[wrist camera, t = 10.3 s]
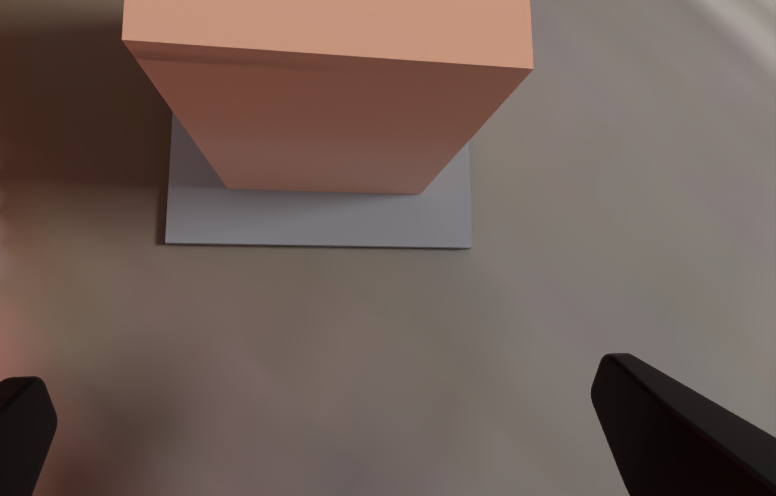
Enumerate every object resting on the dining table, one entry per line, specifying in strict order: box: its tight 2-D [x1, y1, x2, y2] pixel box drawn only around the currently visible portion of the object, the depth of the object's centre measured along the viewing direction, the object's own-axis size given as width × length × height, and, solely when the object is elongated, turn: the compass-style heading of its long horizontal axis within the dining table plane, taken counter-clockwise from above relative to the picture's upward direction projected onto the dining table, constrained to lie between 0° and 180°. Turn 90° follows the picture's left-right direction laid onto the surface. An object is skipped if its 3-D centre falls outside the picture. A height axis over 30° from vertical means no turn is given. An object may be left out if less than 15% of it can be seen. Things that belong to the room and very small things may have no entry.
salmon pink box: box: [122, 0, 533, 194], centre depth 13 cm, size 7×7×10 cm
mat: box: [165, 112, 472, 249], centre depth 18 cm, size 11×11×1 cm
